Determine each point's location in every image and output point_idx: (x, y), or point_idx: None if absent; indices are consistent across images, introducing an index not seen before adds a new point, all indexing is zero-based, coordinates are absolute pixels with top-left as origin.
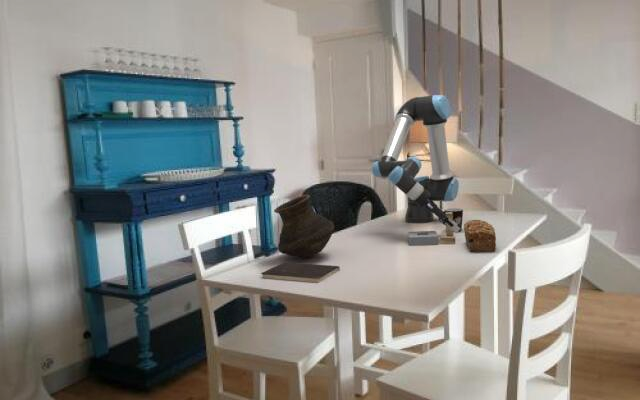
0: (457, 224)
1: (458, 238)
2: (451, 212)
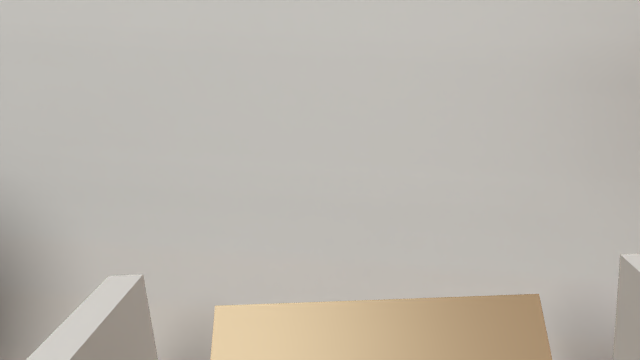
0: (142, 278)
1: None
2: (245, 331)
